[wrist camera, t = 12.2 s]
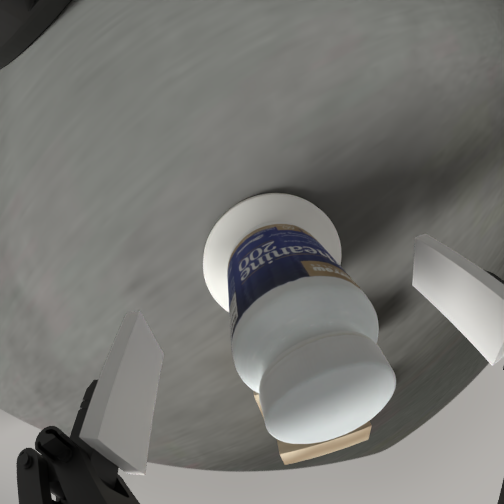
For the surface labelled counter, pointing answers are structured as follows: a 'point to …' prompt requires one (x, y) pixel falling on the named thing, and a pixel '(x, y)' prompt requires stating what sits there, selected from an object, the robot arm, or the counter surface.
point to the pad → (254, 215)
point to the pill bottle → (304, 336)
